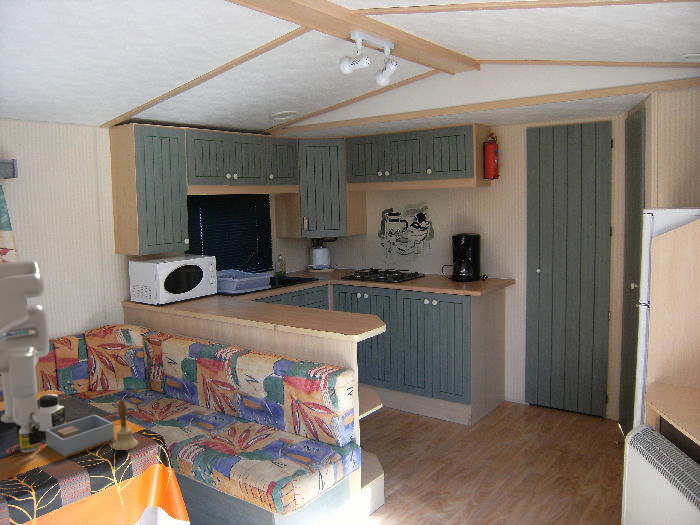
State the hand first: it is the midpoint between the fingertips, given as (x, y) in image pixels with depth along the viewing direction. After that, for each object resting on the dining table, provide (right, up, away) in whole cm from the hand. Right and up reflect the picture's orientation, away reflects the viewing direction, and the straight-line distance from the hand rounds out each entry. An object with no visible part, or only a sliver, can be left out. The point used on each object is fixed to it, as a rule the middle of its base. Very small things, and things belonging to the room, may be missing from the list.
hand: (28, 439), depth 198 cm
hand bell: (+31, -3, +2) cm, 32 cm away
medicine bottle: (-2, -1, +19) cm, 19 cm away
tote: (+15, -3, +6) cm, 16 cm away
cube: (+12, -2, +3) cm, 13 cm away
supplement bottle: (0, -4, +1) cm, 4 cm away
